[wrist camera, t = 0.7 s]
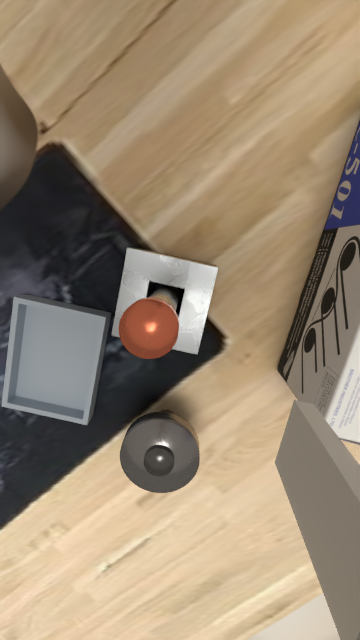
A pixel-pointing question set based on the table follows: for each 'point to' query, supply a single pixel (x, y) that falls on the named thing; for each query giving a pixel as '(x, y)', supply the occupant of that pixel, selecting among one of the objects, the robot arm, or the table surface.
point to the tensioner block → (174, 272)
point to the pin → (151, 324)
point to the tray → (54, 358)
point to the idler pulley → (160, 452)
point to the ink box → (332, 315)
